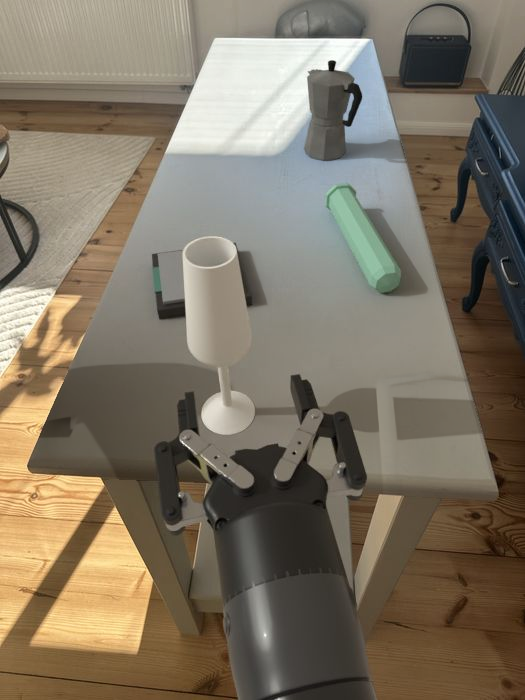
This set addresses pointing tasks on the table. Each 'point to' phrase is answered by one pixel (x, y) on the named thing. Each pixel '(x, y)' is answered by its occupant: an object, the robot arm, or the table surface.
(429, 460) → the table surface
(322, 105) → the coffeepot
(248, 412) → the champagne flute
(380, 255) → the container
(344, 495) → the robot arm
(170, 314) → the scale
